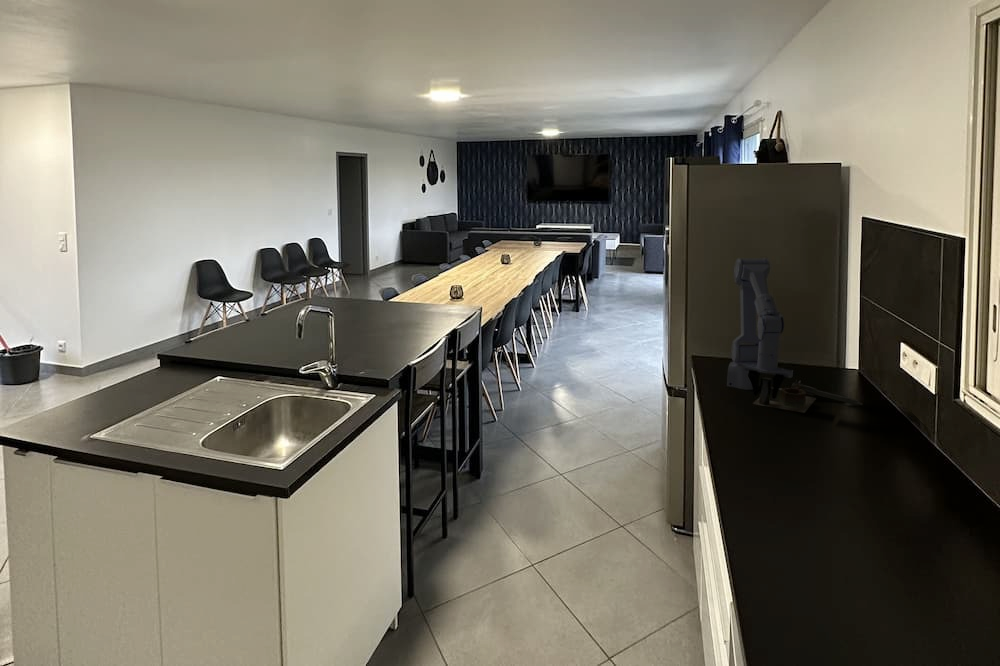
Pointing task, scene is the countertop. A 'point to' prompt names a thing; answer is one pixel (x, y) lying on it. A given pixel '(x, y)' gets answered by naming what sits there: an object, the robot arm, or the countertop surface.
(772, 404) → the hinge base
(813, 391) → the caliper
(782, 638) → the countertop surface
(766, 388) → the steel pin
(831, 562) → the countertop surface
